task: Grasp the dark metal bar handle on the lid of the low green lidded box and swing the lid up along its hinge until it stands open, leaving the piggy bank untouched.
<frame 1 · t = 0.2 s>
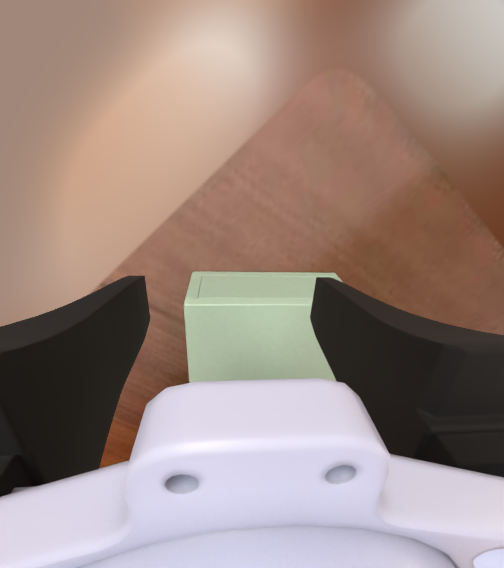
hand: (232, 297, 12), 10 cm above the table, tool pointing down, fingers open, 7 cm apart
green lidded box: (260, 335, 25), on the table
lid: (271, 400, 19), point 7 cm above the table, hinge at 0.0°
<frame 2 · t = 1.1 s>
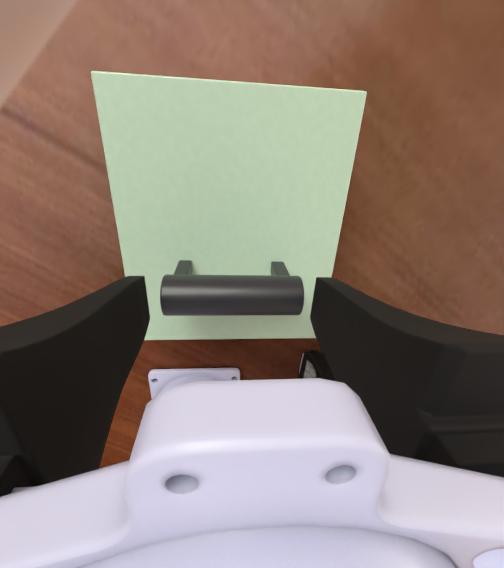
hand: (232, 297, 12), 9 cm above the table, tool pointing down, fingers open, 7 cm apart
electric trimmer: (375, 361, 27), on the table
lid: (233, 247, 13), point 7 cm above the table, hinge at 0.0°
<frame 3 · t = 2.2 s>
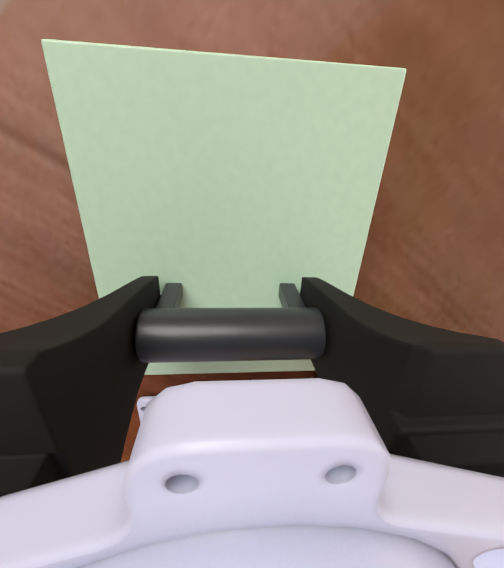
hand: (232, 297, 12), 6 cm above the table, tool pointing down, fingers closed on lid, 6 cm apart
lid: (232, 269, 10), point 7 cm above the table, hinge at 0.0°, touching gripper
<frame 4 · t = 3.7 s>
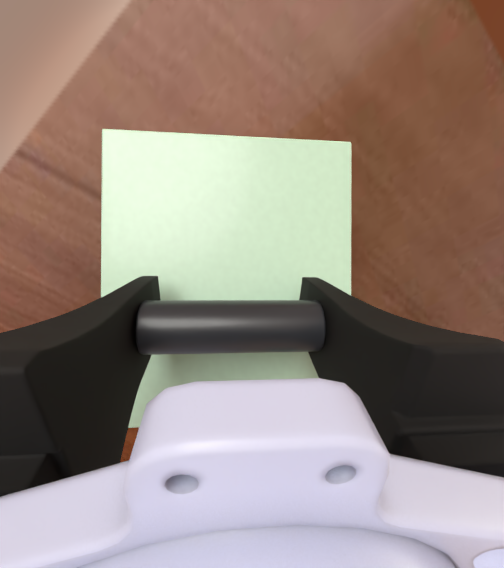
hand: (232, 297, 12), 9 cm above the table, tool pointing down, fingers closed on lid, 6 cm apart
lid: (232, 278, 11), point 10 cm above the table, hinge at 27.2°, touching gripper
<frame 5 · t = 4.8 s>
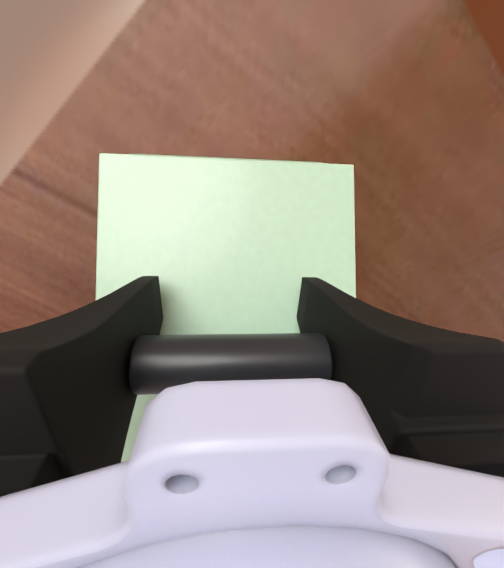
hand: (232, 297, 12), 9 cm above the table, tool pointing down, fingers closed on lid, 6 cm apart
lid: (232, 307, 11), point 10 cm above the table, hinge at 28.9°, touching gripper
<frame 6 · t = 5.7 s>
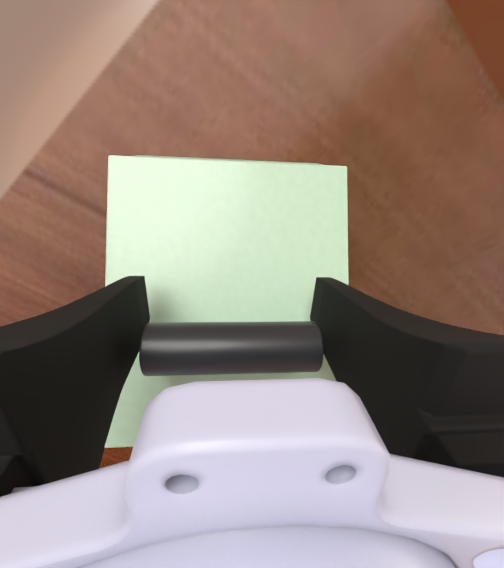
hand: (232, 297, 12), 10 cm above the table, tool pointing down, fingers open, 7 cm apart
lid: (232, 298, 12), point 10 cm above the table, hinge at 28.9°
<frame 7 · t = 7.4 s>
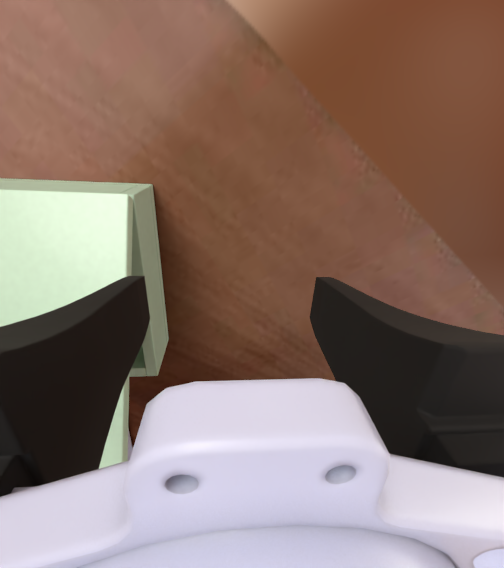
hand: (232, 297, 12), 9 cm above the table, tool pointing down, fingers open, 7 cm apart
green lidded box: (81, 271, 21), on the table
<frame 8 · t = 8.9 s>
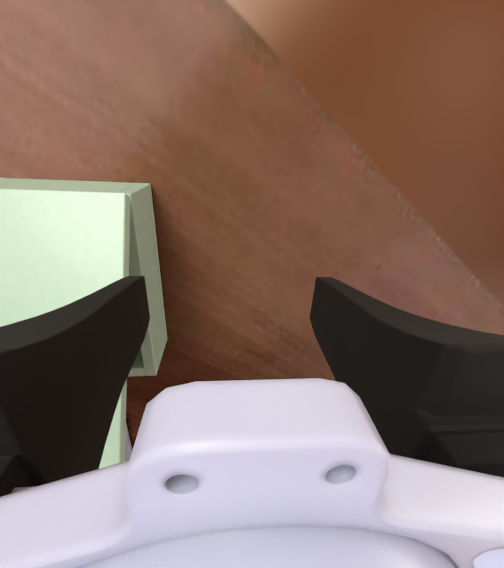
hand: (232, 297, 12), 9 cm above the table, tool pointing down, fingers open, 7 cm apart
green lidded box: (79, 270, 21), on the table
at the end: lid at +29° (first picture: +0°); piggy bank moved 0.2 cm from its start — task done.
